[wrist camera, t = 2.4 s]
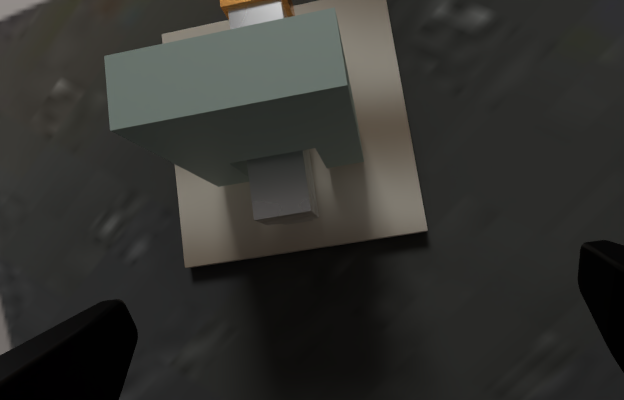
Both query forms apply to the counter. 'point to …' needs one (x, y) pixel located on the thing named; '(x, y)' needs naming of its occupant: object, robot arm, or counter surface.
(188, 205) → the guide board
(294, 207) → the grey square-edged bar
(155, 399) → the counter surface
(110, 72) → the sleeve collar
